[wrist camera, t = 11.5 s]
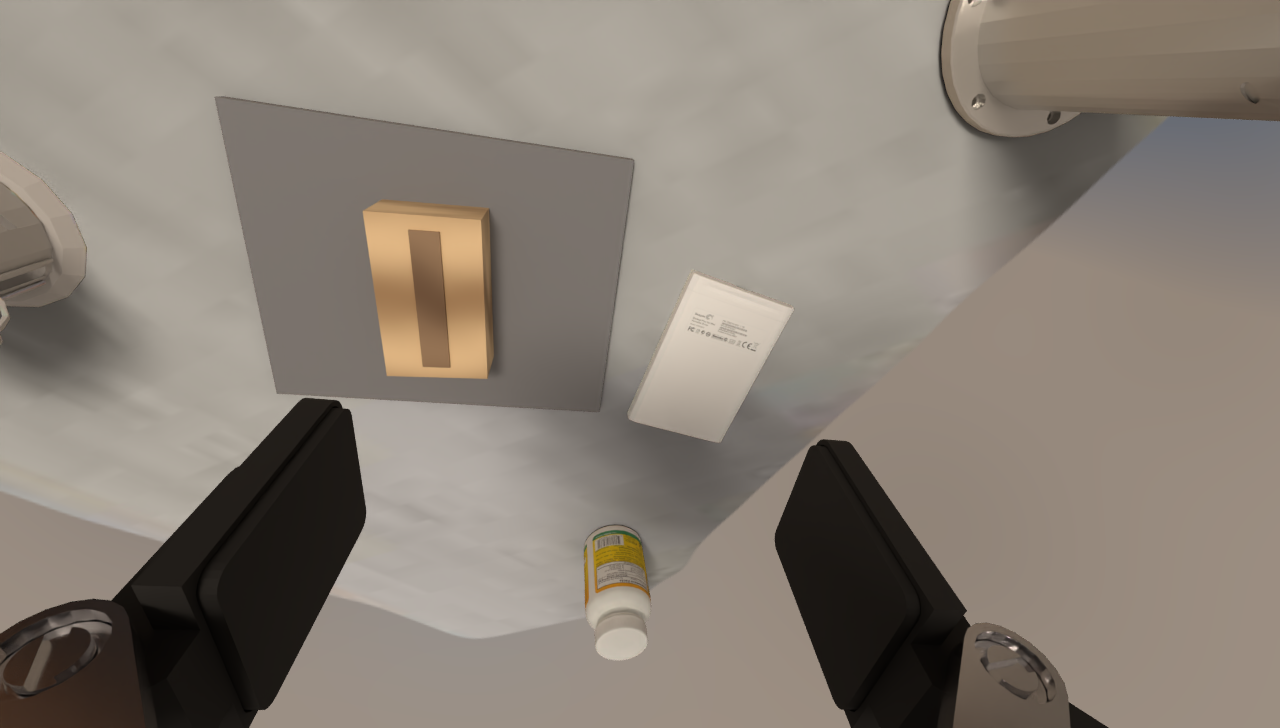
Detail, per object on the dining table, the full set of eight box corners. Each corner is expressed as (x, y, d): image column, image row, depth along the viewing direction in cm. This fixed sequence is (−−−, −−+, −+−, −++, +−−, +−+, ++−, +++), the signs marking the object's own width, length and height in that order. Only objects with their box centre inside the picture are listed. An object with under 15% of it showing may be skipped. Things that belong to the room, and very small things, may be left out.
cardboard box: (493, 355, 35) (487, 380, 32) (401, 352, 34) (386, 377, 31) (488, 208, 30) (480, 220, 27) (382, 199, 29) (361, 211, 26)
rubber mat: (632, 158, 31) (634, 160, 30) (598, 406, 39) (599, 412, 38) (223, 96, 27) (214, 96, 26) (282, 387, 35) (276, 393, 34)
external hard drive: (625, 409, 40) (689, 266, 35) (716, 432, 42) (788, 302, 37) (628, 420, 39) (694, 274, 34) (721, 444, 41) (797, 310, 36)
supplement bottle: (607, 514, 44) (616, 613, 36) (653, 537, 47) (671, 635, 38) (571, 551, 46) (572, 653, 38) (617, 571, 48) (627, 673, 40)
